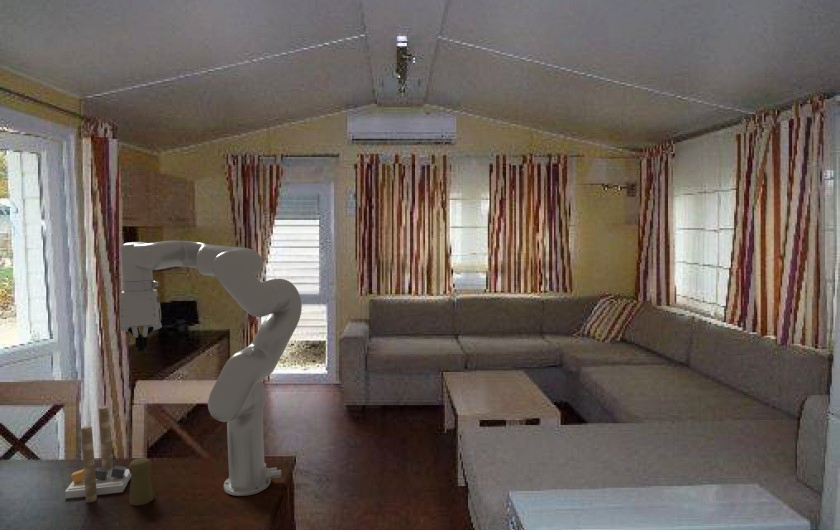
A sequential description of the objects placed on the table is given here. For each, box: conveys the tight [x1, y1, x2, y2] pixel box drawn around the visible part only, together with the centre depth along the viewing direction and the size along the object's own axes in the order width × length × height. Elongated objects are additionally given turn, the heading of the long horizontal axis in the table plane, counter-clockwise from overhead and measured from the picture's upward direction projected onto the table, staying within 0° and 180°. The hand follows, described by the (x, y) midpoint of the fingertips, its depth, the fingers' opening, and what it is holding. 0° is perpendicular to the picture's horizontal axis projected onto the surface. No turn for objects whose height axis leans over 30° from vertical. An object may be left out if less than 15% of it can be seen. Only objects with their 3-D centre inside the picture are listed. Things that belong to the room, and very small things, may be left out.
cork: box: [128, 457, 155, 506], centre depth 151 cm, size 6×6×11 cm
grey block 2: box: [111, 465, 127, 478], centre depth 159 cm, size 3×2×2 cm, turn 105°
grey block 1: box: [95, 466, 109, 480], centre depth 158 cm, size 3×2×2 cm, turn 105°
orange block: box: [70, 469, 84, 483], centre depth 157 cm, size 3×2×2 cm, turn 103°
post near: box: [80, 425, 98, 504], centre depth 150 cm, size 3×3×20 cm
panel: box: [64, 468, 132, 499], centre depth 158 cm, size 14×10×2 cm
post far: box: [97, 405, 114, 471], centre depth 165 cm, size 3×3×20 cm
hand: (142, 349), depth 162 cm, fingers closed
